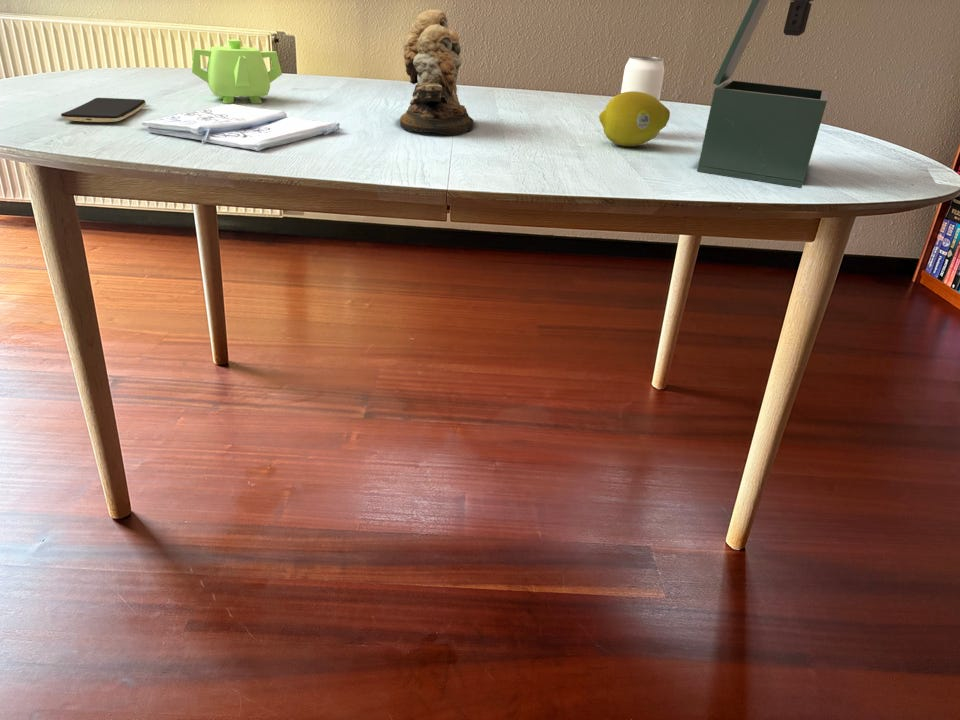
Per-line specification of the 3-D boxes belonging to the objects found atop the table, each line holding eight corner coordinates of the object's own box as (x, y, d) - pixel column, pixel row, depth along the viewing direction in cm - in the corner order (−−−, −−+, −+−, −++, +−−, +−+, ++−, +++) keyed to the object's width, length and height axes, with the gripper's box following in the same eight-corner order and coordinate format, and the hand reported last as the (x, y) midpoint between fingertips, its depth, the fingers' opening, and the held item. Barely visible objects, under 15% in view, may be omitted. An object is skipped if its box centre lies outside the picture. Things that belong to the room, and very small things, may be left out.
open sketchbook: (238, 115, 109) (236, 101, 108) (344, 132, 102) (343, 117, 101) (140, 132, 93) (137, 116, 92) (256, 154, 87) (255, 137, 86)
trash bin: (805, 168, 100) (828, 90, 95) (801, 187, 89) (827, 100, 84) (711, 154, 105) (728, 79, 100) (696, 171, 94) (714, 88, 89)
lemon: (597, 148, 104) (605, 92, 100) (593, 138, 111) (600, 85, 107) (668, 154, 103) (679, 98, 100) (659, 143, 110) (669, 91, 106)
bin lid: (784, -31, 92) (746, -45, 93) (776, -37, 81) (734, -53, 82) (731, 77, 100) (697, 63, 101) (718, 85, 89) (680, 69, 90)
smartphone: (59, 114, 95) (96, 97, 108) (61, 122, 95) (97, 104, 108) (116, 116, 96) (146, 99, 109) (117, 124, 96) (147, 106, 109)
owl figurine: (470, 140, 103) (477, 14, 95) (392, 134, 103) (392, 8, 95) (475, 120, 119) (481, 10, 111) (407, 115, 119) (408, 5, 111)
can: (608, 130, 118) (619, 54, 112) (640, 130, 120) (653, 56, 114) (626, 137, 113) (639, 59, 107) (660, 137, 115) (674, 60, 109)
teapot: (191, 100, 118) (182, 37, 114) (233, 92, 128) (227, 35, 123) (248, 108, 115) (242, 44, 111) (287, 100, 125) (283, 41, 120)
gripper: (868, -126, 74) (824, 39, 82) (863, -108, 85) (825, 35, 93) (794, -126, 77) (758, 33, 84) (799, -109, 88) (767, 31, 96)
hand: (793, 34), depth 89 cm, fingers open, 8 cm apart
